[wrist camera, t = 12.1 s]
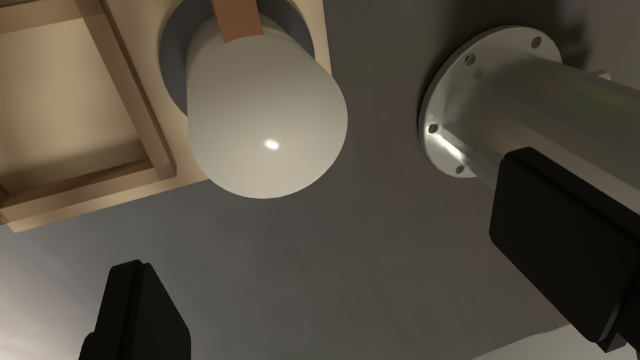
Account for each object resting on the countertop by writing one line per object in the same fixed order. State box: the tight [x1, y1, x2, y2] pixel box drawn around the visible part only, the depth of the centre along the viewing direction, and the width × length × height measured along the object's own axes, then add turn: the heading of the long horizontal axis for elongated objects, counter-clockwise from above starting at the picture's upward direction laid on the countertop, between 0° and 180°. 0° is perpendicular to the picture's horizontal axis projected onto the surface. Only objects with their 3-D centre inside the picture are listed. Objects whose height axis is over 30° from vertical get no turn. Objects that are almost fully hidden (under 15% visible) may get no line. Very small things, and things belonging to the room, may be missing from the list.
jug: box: [186, 0, 347, 198], centre depth 18 cm, size 9×6×9 cm
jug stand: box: [0, 0, 332, 233], centre depth 22 cm, size 22×14×2 cm, turn 98°
